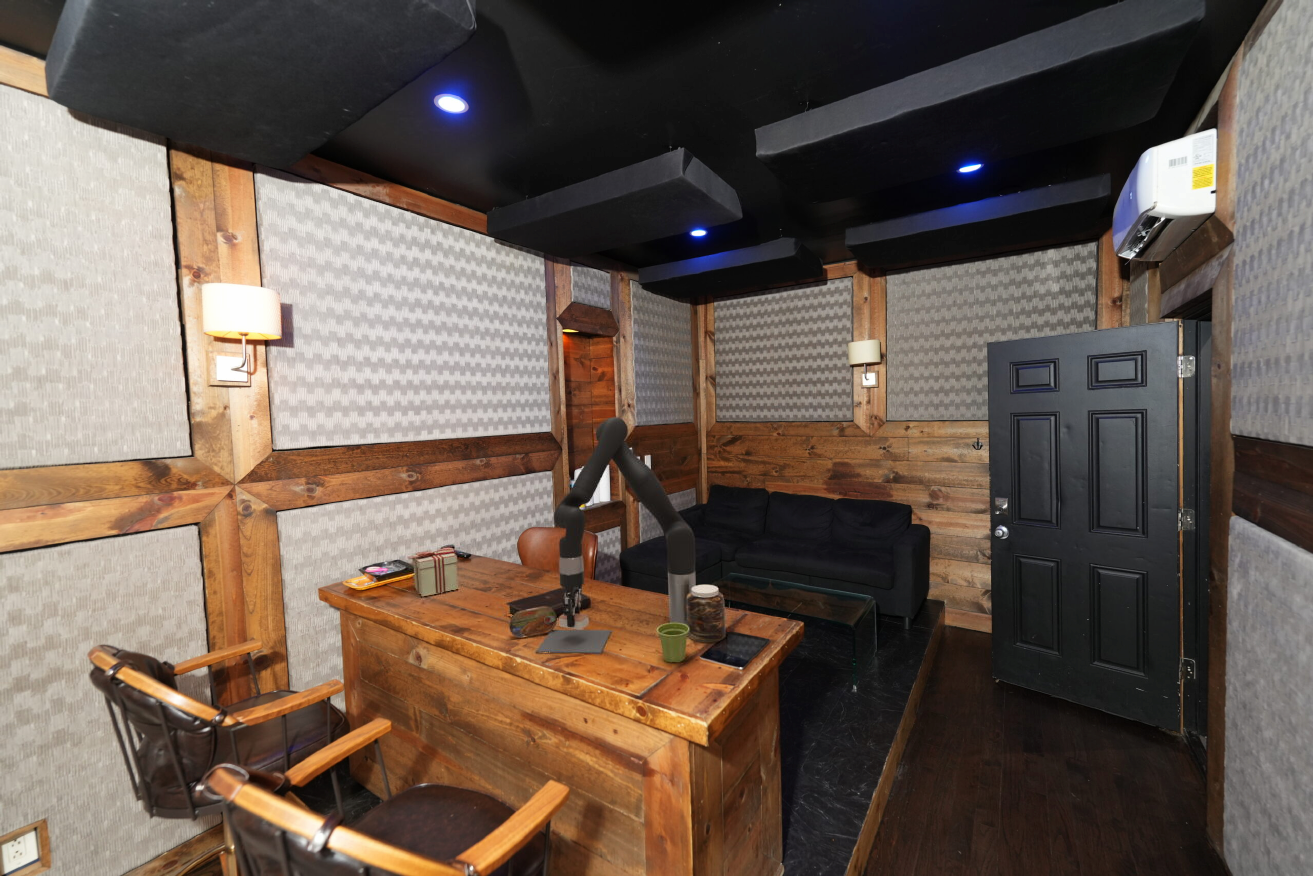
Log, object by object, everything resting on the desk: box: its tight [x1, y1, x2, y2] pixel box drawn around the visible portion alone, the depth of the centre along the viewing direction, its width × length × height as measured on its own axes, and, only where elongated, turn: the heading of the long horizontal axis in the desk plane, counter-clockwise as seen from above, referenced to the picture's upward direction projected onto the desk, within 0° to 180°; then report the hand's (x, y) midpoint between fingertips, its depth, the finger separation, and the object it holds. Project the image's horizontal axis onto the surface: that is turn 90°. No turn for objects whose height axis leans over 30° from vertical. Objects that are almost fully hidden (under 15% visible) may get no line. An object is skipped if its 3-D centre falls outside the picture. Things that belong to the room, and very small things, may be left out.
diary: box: [505, 586, 592, 619], centre depth 194 cm, size 19×25×5 cm
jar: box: [687, 584, 727, 644], centre depth 167 cm, size 12×12×15 cm
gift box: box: [407, 546, 459, 596], centre depth 224 cm, size 17×18×17 cm
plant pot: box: [656, 622, 689, 664], centre depth 152 cm, size 9×9×9 cm
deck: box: [558, 613, 590, 630], centre depth 166 cm, size 4×8×3 cm, turn 65°
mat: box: [535, 629, 612, 655], centre depth 166 cm, size 20×16×1 cm
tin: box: [508, 606, 558, 639], centre depth 173 cm, size 15×3×8 cm, turn 106°
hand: (573, 622), depth 166 cm, fingers closed on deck, 5 cm apart
